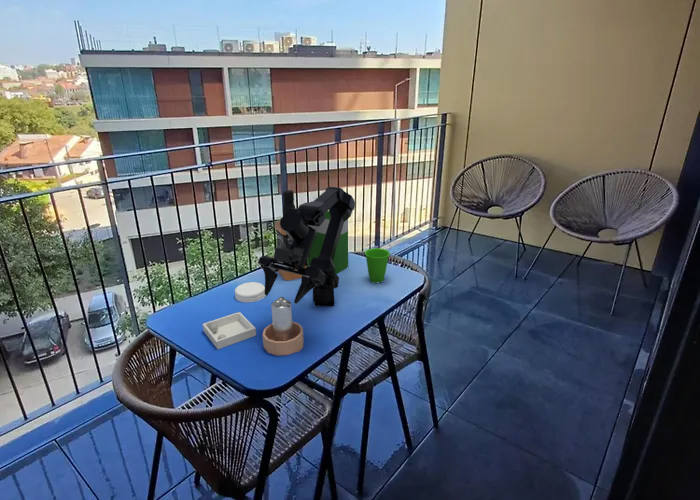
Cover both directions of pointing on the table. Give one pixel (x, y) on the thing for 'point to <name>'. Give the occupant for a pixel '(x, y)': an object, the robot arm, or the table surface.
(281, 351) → the bowl
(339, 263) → the hardback book
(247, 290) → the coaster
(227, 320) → the tray
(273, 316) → the silver ball-topped cylinder
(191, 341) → the table surface
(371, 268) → the cup
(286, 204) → the whiskey bottle
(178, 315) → the table surface
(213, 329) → the pebble
